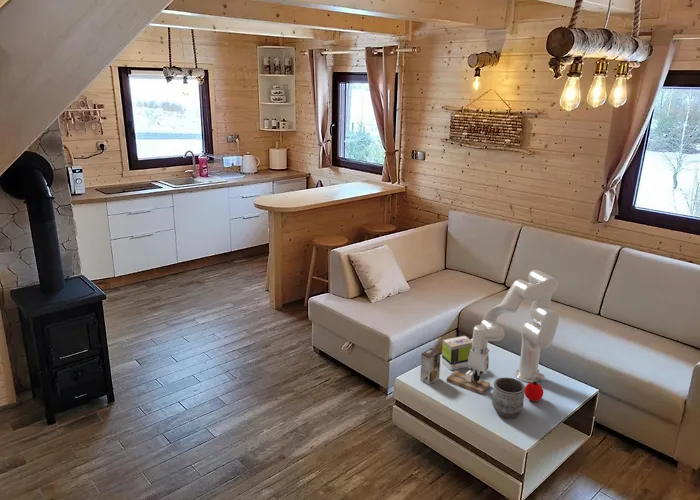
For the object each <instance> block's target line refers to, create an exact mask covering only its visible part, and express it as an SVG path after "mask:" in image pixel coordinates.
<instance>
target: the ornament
mask: <svg viewBox="0 0 700 500" xmlns="http://www.w3.org/2000/svg"><path fill="white" fill-rule="evenodd" d="M524 396H525V397H526V398H527V399H528V400H530V401H532V402H537V401H538V402H539V401H540V400H541V399H542V398H543V396H544V389H543V387H542V385H541V384H539V383H538V381H537V382H535V381H534V382H528V383H527V384H526V385H525V393H524Z"/></svg>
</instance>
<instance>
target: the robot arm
mask: <svg viewBox="0 0 700 500" xmlns="http://www.w3.org/2000/svg"><path fill="white" fill-rule="evenodd" d="M558 287H559V283H558V280H557V279H556V277H553V276H551V275H550V274H547V273H545V272H543V271H541V270H538V269H532V270H531V271H529V273H528V281H526V280H524V279H516V280H514V282H513V283H512V284H511V286H510V288H509V289H508V291H507V293H506V295H504V297H503V299H502V300H501V302H500V303H499V304H497V305H495V306H493V307H492V308H490V309H489V310H487V312H486V313H485V315H484V316H483V318H482V320H481V322H480V324H476V325H474V326H473V329H472V330H473V331H472V339H471V341H472V348H471V350H470V353H469V357H468V366H467V367H466V368H467V369H469V370H470V371H472V372H473V374H474V376H473V379H474V381H476V382H477V381H478V380H480V379H481V375H482V374H484V375H487V374H488V369H489V367H490V356H489V353H490V349H488V342H491V341H492V342H499V341H501V340H503V339H504V338H505V336H506V332H505V330H504V328H503V327H501V326H500V325H499V324H497V323H495V322H496V321H497V319H498V318H499V317H500V316H502V315H504V314H514V313H516V312H517V311H518V309H519V308H520V306H521V304H522V303H523V302H524V301H526V302H529V303H530V302H531V305H530V309H529V317H530V318H531V319H532V320H533V321H531V320H530V321H526V322H524V324H523V325H522V327H521V350H520V359H519V367H518V369H517V370H516V371H515V373H514V374H515V377H516V379H517V380H518V379H519V381H521V382H522V381H523V382H525V383H532V382H534V381H535V382H537V383H538V381H540V380H542V381H545V380H546V376H545V374H543V373H540V369H539V365H540V363H539V362H540V357H541V349H545V348H549V347H550V345H552V343H553V342H554V338H555V335H556V332H557V330H558V329H557V328H558V325H559V315H558V313H557V311H555V310H553V309H552V308H551V307H550V306H551V301H552V298H553V297H552V295H553V293H555V292H556V290H557V289H558Z"/></svg>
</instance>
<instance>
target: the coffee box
mask: <svg viewBox="0 0 700 500" xmlns="http://www.w3.org/2000/svg"><path fill="white" fill-rule="evenodd" d="M441 352H442V351H439V350H437V349H435V348H433V347H431V348H429V349H427V350H425V351H424V352H422V353H421V356H420V359H421V361H420V373H419V374H420V377H419V380H420V381H421V382H423V383H425V384H427V385H431V384H433V383H434V382H436V381H438V380H439V379H440V372H441V356H442V353H441Z"/></svg>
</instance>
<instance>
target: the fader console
mask: <svg viewBox="0 0 700 500" xmlns="http://www.w3.org/2000/svg"><path fill="white" fill-rule="evenodd" d="M465 378H466V373H463V372H460V371H458V370H457V369H454V371H453V372H452V373H451V374H450V375H448V376H447V377H446V382H447V383H450V384H451V385H456V386H458V387H460V388H463V389H466V390H468V391H471V392H473V393H474V392H475V393H476V394H479V395H483V394H484V393H485V392H486V391H487V390H488V389H489V388H490V386H491V383H490V382H489V381H486V380H483V379H481V378H480V380H478V381H477V382H476V381H474V380H473V381H472V382H471V383H470V382H467V381H465Z"/></svg>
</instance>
